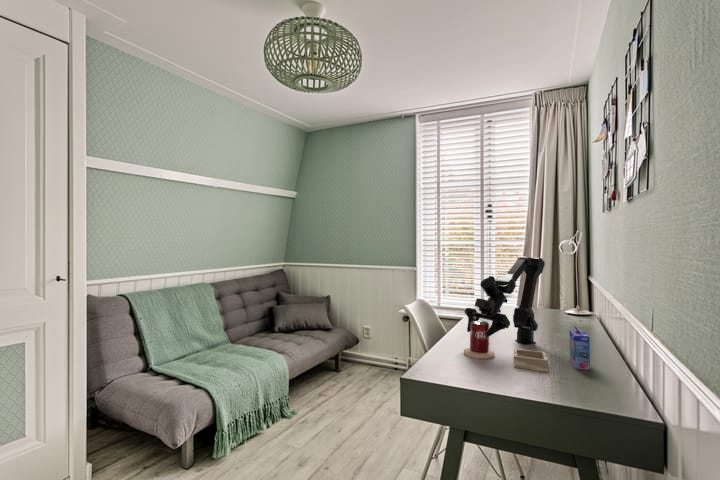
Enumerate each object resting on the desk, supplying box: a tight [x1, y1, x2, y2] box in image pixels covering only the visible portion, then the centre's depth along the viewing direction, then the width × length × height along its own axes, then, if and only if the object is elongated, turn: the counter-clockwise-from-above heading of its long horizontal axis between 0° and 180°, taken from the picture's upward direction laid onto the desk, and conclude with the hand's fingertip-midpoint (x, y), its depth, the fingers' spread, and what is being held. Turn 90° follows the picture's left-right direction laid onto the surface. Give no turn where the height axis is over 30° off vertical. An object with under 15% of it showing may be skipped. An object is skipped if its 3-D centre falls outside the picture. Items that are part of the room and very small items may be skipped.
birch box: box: [513, 348, 549, 372], centre depth 144 cm, size 11×11×4 cm
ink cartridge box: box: [569, 325, 591, 371], centre depth 145 cm, size 10×6×14 cm, turn 161°
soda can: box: [469, 320, 490, 354], centre depth 157 cm, size 7×7×12 cm
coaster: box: [463, 347, 496, 360], centre depth 157 cm, size 12×12×1 cm
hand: (477, 333), depth 156 cm, fingers open, 9 cm apart
